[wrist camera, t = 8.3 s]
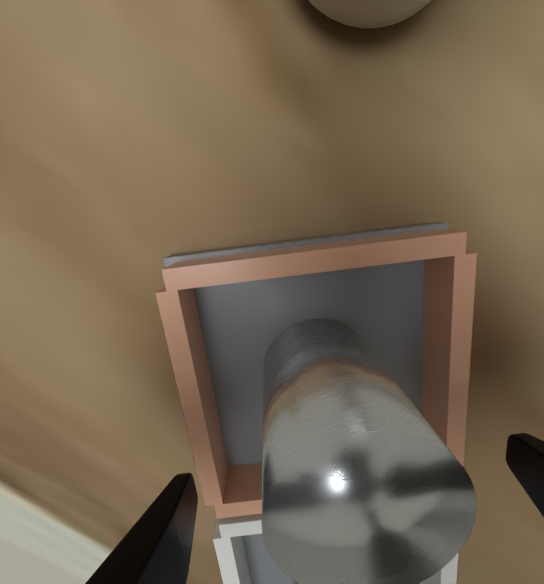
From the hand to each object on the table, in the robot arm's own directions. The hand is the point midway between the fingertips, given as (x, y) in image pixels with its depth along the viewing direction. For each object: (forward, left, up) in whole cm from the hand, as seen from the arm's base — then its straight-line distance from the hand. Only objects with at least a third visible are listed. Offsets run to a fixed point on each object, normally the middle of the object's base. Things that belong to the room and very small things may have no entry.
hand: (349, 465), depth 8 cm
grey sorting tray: (-6, 0, -6) cm, 9 cm away
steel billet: (0, 0, -6) cm, 6 cm away
